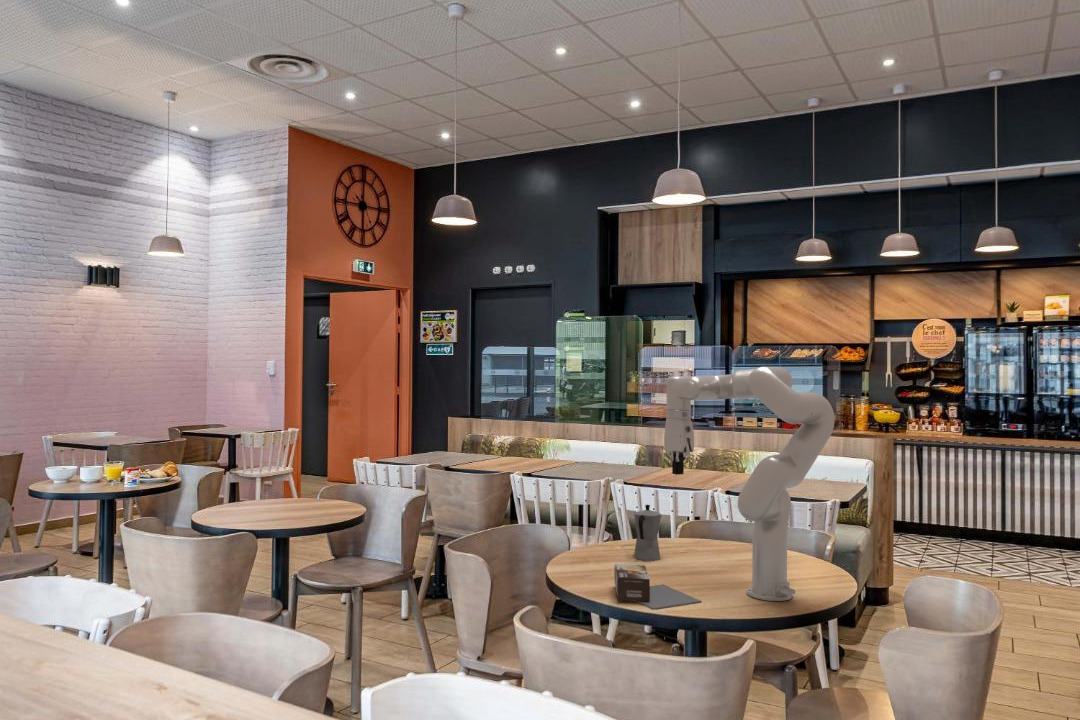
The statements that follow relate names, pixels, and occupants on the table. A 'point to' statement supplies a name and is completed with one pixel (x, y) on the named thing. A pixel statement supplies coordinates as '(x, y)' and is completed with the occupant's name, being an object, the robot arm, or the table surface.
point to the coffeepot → (647, 535)
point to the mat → (667, 598)
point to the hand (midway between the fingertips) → (677, 474)
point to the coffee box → (631, 582)
